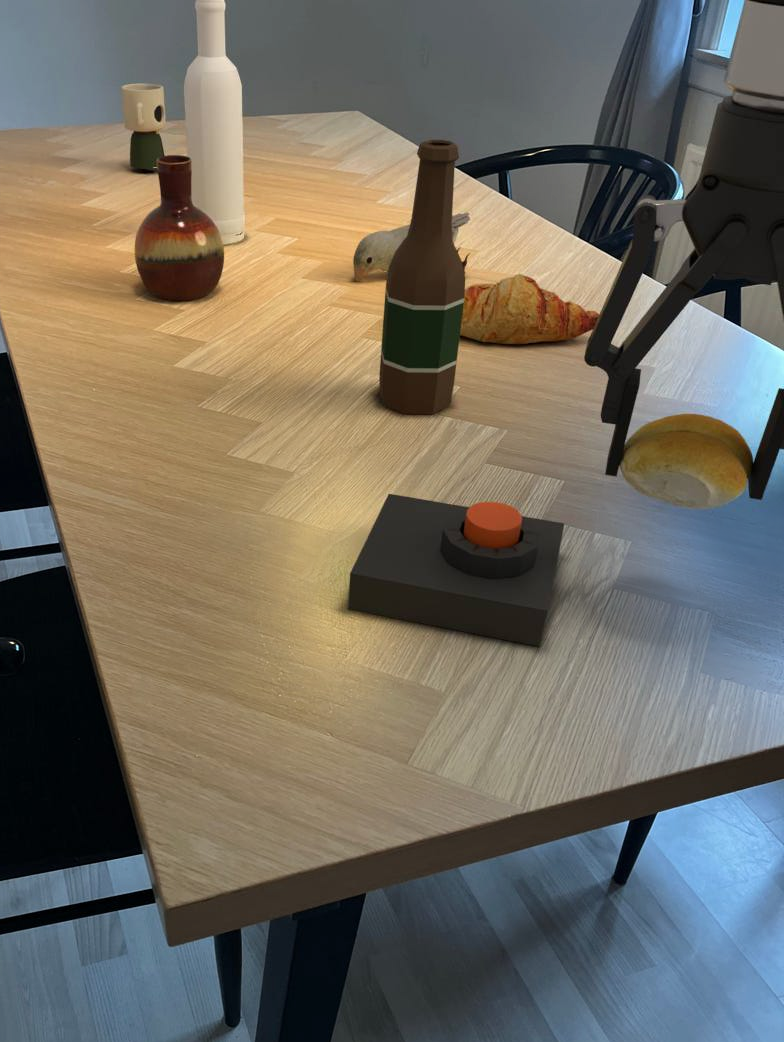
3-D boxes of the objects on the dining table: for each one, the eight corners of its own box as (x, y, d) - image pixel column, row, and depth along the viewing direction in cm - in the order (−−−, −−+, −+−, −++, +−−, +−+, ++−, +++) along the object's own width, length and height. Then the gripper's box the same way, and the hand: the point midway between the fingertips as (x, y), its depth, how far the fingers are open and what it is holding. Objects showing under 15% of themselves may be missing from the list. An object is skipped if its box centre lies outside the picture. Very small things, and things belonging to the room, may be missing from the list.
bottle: (250, 231, 145) (247, -10, 127) (238, 247, 139) (233, -4, 121) (198, 227, 146) (187, -13, 128) (184, 243, 140) (170, -7, 122)
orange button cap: (521, 527, 72) (525, 506, 71) (514, 555, 69) (518, 534, 68) (468, 517, 73) (471, 497, 72) (459, 545, 70) (461, 524, 69)
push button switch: (557, 557, 78) (569, 502, 75) (539, 647, 69) (552, 589, 66) (385, 527, 81) (390, 473, 78) (347, 609, 72) (351, 551, 69)
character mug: (163, 178, 169) (157, 93, 161) (122, 176, 169) (114, 91, 161) (173, 163, 177) (168, 82, 169) (134, 162, 178) (127, 80, 170)
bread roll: (752, 466, 68) (772, 413, 65) (732, 525, 62) (752, 468, 59) (633, 437, 71) (648, 384, 68) (602, 490, 64) (617, 435, 62)
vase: (141, 308, 119) (129, 171, 110) (134, 278, 128) (123, 149, 118) (231, 303, 121) (227, 168, 112) (218, 274, 130) (214, 147, 120)
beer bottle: (399, 421, 96) (422, 155, 81) (363, 390, 102) (378, 136, 87) (466, 409, 99) (501, 149, 84) (428, 379, 104) (454, 130, 89)
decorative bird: (345, 275, 131) (348, 216, 126) (454, 264, 135) (461, 207, 130) (360, 288, 127) (364, 227, 122) (472, 277, 131) (479, 218, 126)
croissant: (409, 360, 117) (410, 312, 110) (420, 295, 121) (421, 245, 113) (591, 374, 113) (604, 325, 106) (596, 307, 117) (609, 256, 110)
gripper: (1000, 103, 52) (845, 478, 66) (594, 73, 57) (530, 429, 71) (1038, 130, 47) (860, 534, 61) (584, 95, 51) (516, 477, 65)
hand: (682, 477), depth 66 cm, fingers closed on bread roll, 8 cm apart
